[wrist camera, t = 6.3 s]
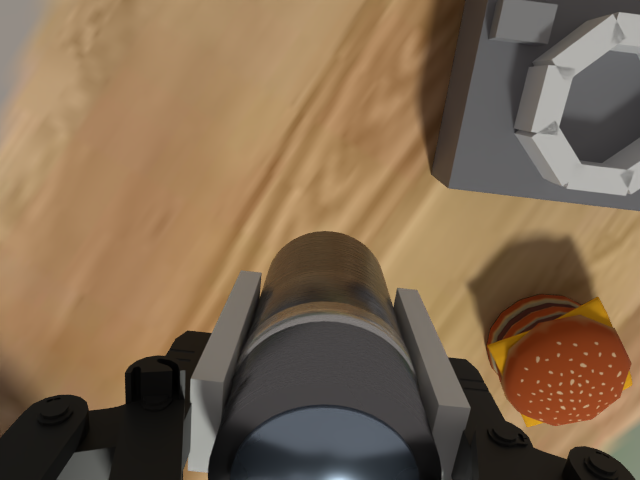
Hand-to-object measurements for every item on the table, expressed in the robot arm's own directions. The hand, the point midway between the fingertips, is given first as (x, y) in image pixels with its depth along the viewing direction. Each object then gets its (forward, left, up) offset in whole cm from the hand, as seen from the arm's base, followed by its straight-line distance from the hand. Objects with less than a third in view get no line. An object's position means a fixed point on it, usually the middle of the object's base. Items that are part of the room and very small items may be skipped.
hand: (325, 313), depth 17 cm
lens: (0, 0, -2) cm, 2 cm away
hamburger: (+20, -10, -19) cm, 29 cm away
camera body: (+16, +9, -19) cm, 26 cm away
